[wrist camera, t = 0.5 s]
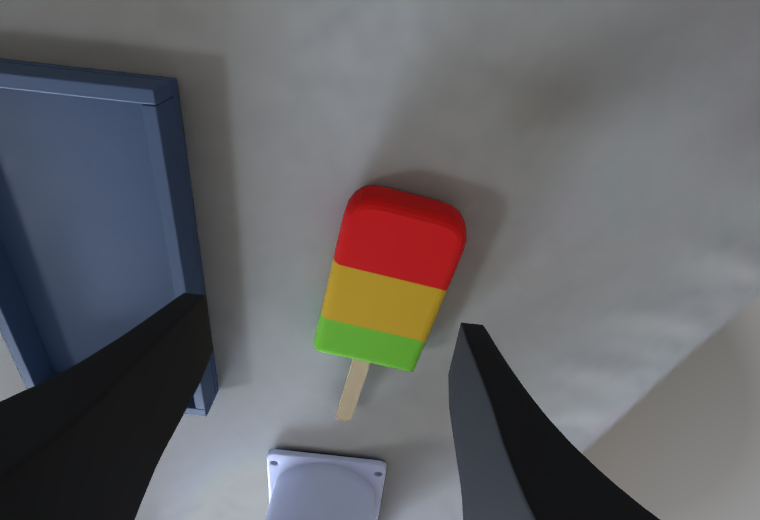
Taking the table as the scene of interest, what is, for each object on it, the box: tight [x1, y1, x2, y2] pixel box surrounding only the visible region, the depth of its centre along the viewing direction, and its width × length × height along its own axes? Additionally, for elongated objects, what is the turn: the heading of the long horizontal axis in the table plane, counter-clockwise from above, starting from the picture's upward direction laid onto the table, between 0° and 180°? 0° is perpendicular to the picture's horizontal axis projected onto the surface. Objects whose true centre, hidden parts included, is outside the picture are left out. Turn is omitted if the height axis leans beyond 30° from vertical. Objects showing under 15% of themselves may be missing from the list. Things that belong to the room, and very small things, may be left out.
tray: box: [0, 59, 218, 416], centre depth 23 cm, size 18×10×2 cm, turn 175°
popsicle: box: [314, 186, 466, 421], centre depth 24 cm, size 6×15×2 cm, turn 166°
